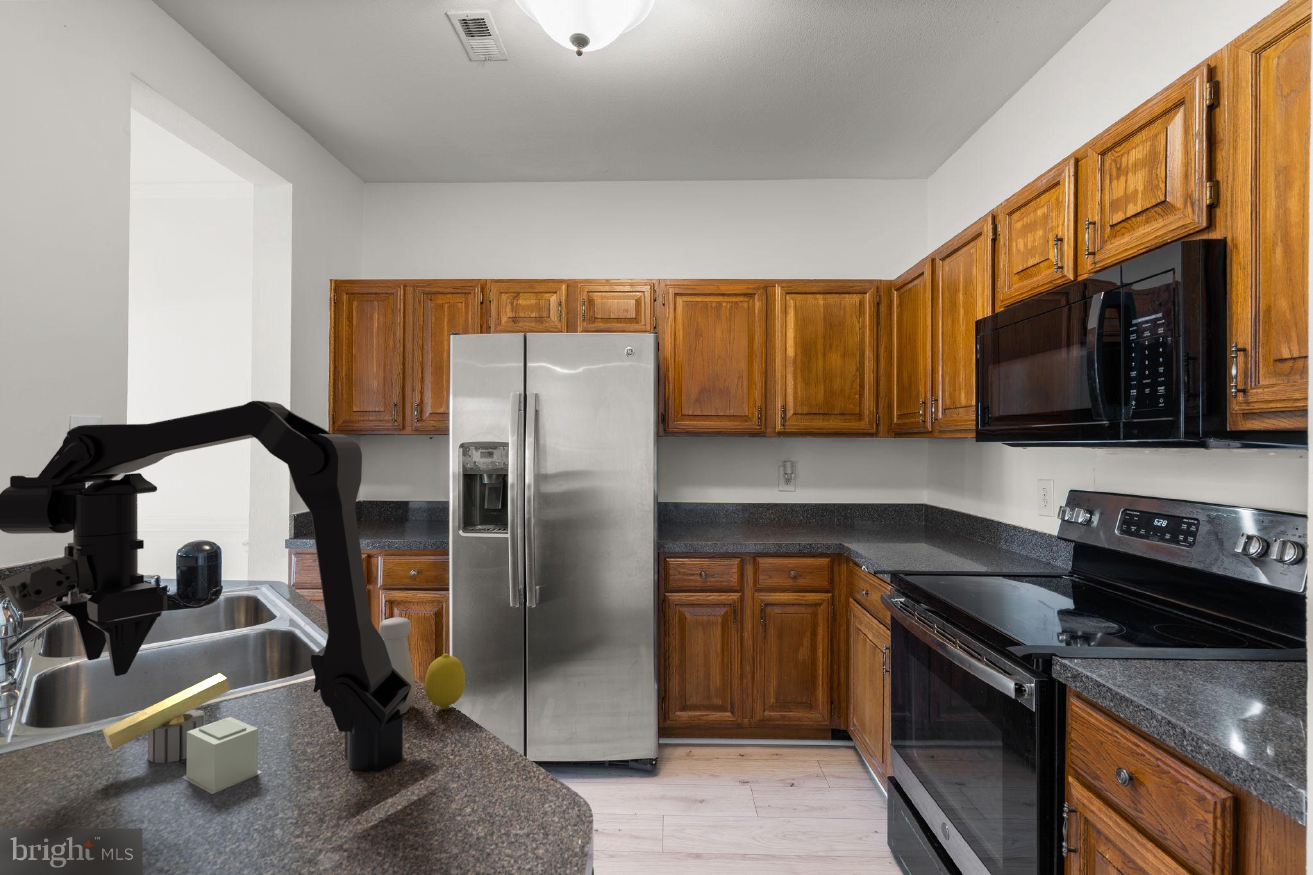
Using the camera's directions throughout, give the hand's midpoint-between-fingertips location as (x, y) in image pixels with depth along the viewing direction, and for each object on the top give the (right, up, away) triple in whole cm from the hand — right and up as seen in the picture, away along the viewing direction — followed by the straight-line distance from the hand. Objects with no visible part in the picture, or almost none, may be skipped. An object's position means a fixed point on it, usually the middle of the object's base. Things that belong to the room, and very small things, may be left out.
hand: (106, 666), depth 75 cm
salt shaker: (+26, -13, +18) cm, 34 cm away
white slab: (+10, -12, 0) cm, 16 cm away
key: (+6, -11, +3) cm, 13 cm away
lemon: (+34, -13, +18) cm, 40 cm away
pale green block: (+15, -11, -3) cm, 19 cm away
